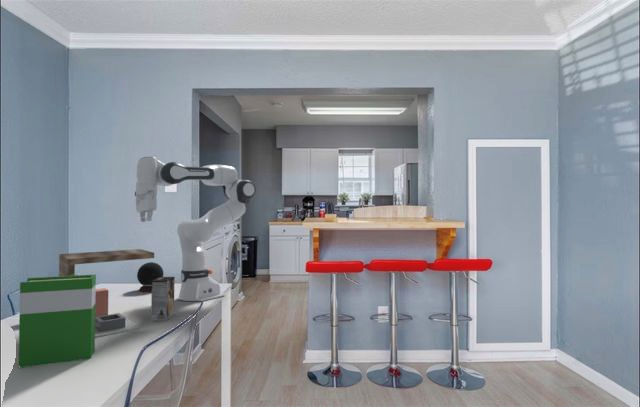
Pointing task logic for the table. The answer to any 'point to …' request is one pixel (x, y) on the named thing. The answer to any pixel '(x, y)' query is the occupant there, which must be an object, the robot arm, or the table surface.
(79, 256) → the l-shaped wooden plank
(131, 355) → the table surface
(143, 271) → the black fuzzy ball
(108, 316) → the socket
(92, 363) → the table surface
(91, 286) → the hardback book
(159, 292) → the coffee box
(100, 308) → the peg
